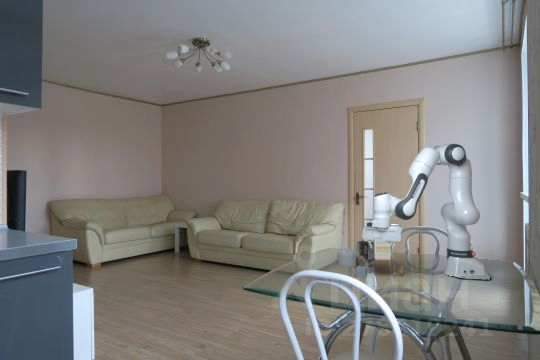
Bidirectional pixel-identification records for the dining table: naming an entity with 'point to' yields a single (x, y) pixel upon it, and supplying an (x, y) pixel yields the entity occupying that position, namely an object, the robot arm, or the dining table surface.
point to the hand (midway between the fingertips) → (381, 249)
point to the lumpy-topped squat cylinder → (347, 257)
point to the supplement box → (381, 249)
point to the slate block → (361, 271)
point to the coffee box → (365, 255)
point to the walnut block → (398, 270)
